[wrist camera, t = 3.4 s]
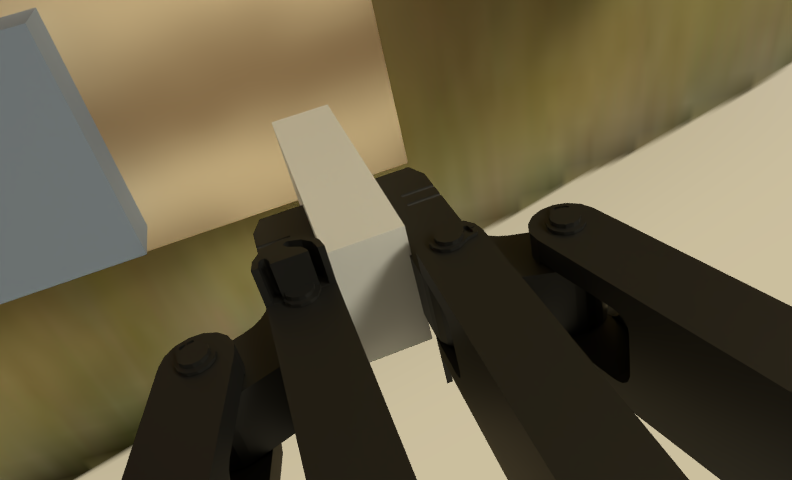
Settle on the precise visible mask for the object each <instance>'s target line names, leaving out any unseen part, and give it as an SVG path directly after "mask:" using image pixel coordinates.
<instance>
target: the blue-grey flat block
mask: <svg viewBox="0 0 792 480" xmlns="http://www.w3.org/2000/svg"><path fill="white" fill-rule="evenodd" d="M146 254H147V224H146V222H145V220H144V218H143V216H142V214H141V213H140V211H139V209H138V207H137V205H136V203H135V201H134V199H133V197H132V195H131V193H130V191H129V189H128V187H127V185H126V183H125V181H124V179H123V177H122V175H121V173H120V171H119V169H118V167H117V165H116V164H115V162H114V160H113V158H112V156H111V154H110V152H109V150H108V148H107V146H106V144H105V142H104V140H103V138H102V136H101V134H100V132H99V130H98V128H97V126H96V124H95V122H94V120H93V118H92V117H91V115H90V113H89V111H88V109H87V107H86V105H85V103H84V101H83V99H82V97H81V95H80V93H79V91H78V89H77V87H76V85H75V83H74V81H73V79H72V77H71V75H70V73H69V71H68V69H67V68H66V66H65V64H64V62H63V60H62V58H61V56H60V54H59V52H58V50H57V48H56V46H55V44H54V42H53V40H52V38H51V36H50V34H49V32H48V30H47V28H46V26H45V24H44V22H43V21H42V19H41V17H40V15H39V13H38V11H37V9H36V8H32V9H29V10H25V11H22V12H18V13H15V14H11V15H8V16H4V17H1V18H0V304H3V303H6V302H9V301H12V300H14V299H17V298H20V297H23V296H26V295H29V294H32V293H35V292H38V291H41V290H44V289H47V288H50V287H53V286H55V285H58V284H61V283H64V282H67V281H70V280H73V279H76V278H79V277H82V276H85V275H88V274H91V273H94V272H96V271H99V270H102V269H105V268H108V267H111V266H114V265H117V264H120V263H123V262H126V261H129V260H132V259H135V258H138V257H140V256H143V255H146Z"/></svg>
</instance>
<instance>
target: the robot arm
mask: <svg viewBox="0 0 792 480" xmlns="http://www.w3.org/2000/svg"><path fill="white" fill-rule="evenodd" d="M271 123H272V126H273V128H274V131H275V134H276V137H277V140H278V143H279V146H280V149H281V152H282V155H283V157H284V160H285V163H286V166H287V169H288V172H289V175H290V178H291V181H292V184H293V187H294V189H295V192H296V195H297V198H298V201H299V204H300V206H298V207H295V208H292V209H289V210H286V211H283V212H281V213H278V214H275V215H272V216H269V217H266V218H263V219H260V220H259V222H258V224H257V227H256V229H255V231H254V234H253V235H254V239H255V244H256V248H257V252H258V255H257V256H256V257H255V259H254V260H253V262H252V266H251V273H252V275H253V277H254V280H255V282H256V284H257V287H258V289H259V292H260V294H261V296H262V299H263V301H264V303H265V306H266V312H265V313H264V315H263V316H262V318H261V319H260V320H259V321H258V322H257V323H256V324H255V325H254V326H253V327H252V328H251V329H249V330H248V331H247V332H245V333H244V334H242V335H240V336H239V337H237V338H236V339H234V340H231V339H230V338H229V337H228V336H227V335H224V334H221V333H217V332H215V333H203V334H200V335H197V336H194V337H191V338H188V339H187V340H185V341H183V342H182V343H180V344H178V345H177V346H175V347H174V348H173V349H172V350H171V351H170V352H169V353H168V354H167V355H166V356H165V357H164V358H163V360H162V362H161V364H160V366H159V367H158V370H157V373H156V376H155V379H154V382H153V385H152V388H151V391H150V395H149V398H148V401H147V404H146V407H145V410H144V413H143V416H142V419H141V422H140V425H139V428H138V431H137V434H136V437H135V440H134V443H133V446H132V449H131V453H130V456H129V459H128V462H127V465H126V468H125V471H124V474H123V477H122V480H280V476H281V466H282V456H283V451H282V444H281V443H282V442H283V441H285V440H286V439H288V438H289V437H290V436H292V435H293V434H296V439H297V443H298V447H299V451H300V455H301V460H302V464H303V469H304V473H305V477H306V480H417V479H416V476H415V474H414V472H413V470H412V467H411V464H410V462H409V459H408V457H407V454H406V452H405V449H404V447H403V444H402V442H401V439H400V437H399V434H398V432H397V430H396V427H395V425H394V422H393V420H392V417H391V415H390V412H389V410H388V407H387V405H386V403H385V400H384V397H383V395H382V392H381V390H380V388H379V385H378V383H377V380H376V378H375V375H374V373H373V370H372V368H371V366H370V363H369V362H372V361H375V360H377V359H380V358H382V357H385V356H388V355H390V354H393V353H396V352H398V351H400V350H404V349H406V348H409V347H412V346H414V345H417V344H419V343H422V342H424V341H427V340H430V339H432V335H431V331H430V327H429V324H430V325H431V327H432V329H433V331H434V333H435V335H436V337H437V341H438V346H439V350H440V354H441V358H442V362H443V367H444V370H445V375H446V379H447V383H449V382H452V381H453V380H452V377H453V379H454V381H455V383H456V385H457V386H458V388H459V390H460V392H461V394H462V396H463V398H464V399H465V401H466V403H467V405H468V407H469V409H470V411H471V412H472V414H473V416H474V418H475V420H476V422H477V423H478V425H479V427H480V429H481V431H482V432H483V435H484V436H485V438H486V440H487V442H488V444H489V446H490V448H491V449H492V451H493V453H494V455H495V457H496V459H497V461H498V462H499V464H500V466H501V468H502V470H503V472H504V474H505V475H506V477H507V479H508V480H689V479H688V478H687V477H686V476H685V474H684V473H683V472H682V471H681V469H680V468H679V467H678V466H677V465H676V463H675V462H674V461H673V460H672V459H671V457H670V456H669V455H668V454H667V453H666V451H665V450H664V449H663V448H662V447H661V445H660V444H659V443H658V442H657V440H656V439H655V438H654V437H653V436H652V434H651V433H650V432H649V431H648V429H647V428H646V427H645V426H644V425H643V423H642V422H641V421H640V420H639V419H638V417H637V416H639V417H640V418H641V419H643V420H644V421H645V422H647V423H648V424H649V425H650V426H652V427H653V428H654V429H656V430H657V431H658V432H659V433H661V434H662V435H663V436H665V437H666V438H667V439H669V440H670V441H671V442H672V443H674V444H675V445H676V446H678V447H679V448H680V449H682V450H683V451H684V452H685V453H687V454H688V455H689V456H691V457H692V458H693V459H695V460H696V461H697V462H698V463H700V464H701V465H702V466H704V467H705V468H706V469H707V470H709V471H710V472H711V473H713V474H714V475H715V476H717V477H718V478H719V479H720V480H792V306H790V305H787V304H785V303H783V302H781V301H779V300H777V299H775V298H773V297H771V296H769V295H767V294H765V293H763V292H761V291H759V290H757V289H755V288H753V287H751V286H749V285H747V284H745V283H743V282H741V281H739V280H737V279H735V278H733V277H731V276H729V275H727V274H725V273H723V272H721V271H719V270H717V269H715V268H713V267H711V266H709V265H707V264H705V263H703V262H701V261H699V260H697V259H695V258H693V257H691V256H689V255H687V254H685V253H683V252H681V251H679V250H677V249H675V248H673V247H671V246H668V245H667V244H665V243H663V242H661V241H659V240H657V239H654V238H653V237H651V236H649V235H647V234H645V233H643V232H641V231H639V230H637V229H635V228H632V227H630V226H629V225H627V224H625V223H622V222H621V221H619V220H617V219H614V218H612V217H610V216H608V215H606V214H604V213H602V212H600V211H598V210H596V209H594V208H592V207H589V206H585V205H583V204H573V203H564V204H557V205H552V206H550V207H547V208H544V209H542V210H540V211H539V212H537V213H536V214H535V215H534V216H532V218H531V220H530V222H529V224H528V228H529V233H523V234H516V235H509V236H488V235H487V234H486V233H485V232H484V230H483V229H482V228H480V227H479V226H477V225H476V224H474V223H470V222H466V221H461V219H460V218H459V217H458V216H457V214H456V213H455V212H454V211H453V209H452V208H451V207H450V206H449V204H448V203H447V202H446V201H445V199H444V198H443V197H442V196H441V195H440V193H439V192H438V191H437V189H436V188H435V187H433V184H432V183H431V182H430V180H429V179H428V178H427V177H426V175H425V174H424V173H421V172H419V171H416V170H414V169H411V168H409V167H408V168H405V169H402V170H399V171H396V172H393V173H390V174H387V175H384V176H381V177H378V178H374V177H373V175H372V174H371V172H370V170H369V169H368V167H367V166H366V164H365V162H364V161H363V159H362V158H361V156H360V155H359V153H358V151H357V150H356V148H355V147H354V145H353V144H352V142H351V140H350V139H349V137H348V136H347V134H346V133H345V131H344V129H343V128H342V126H341V125H340V123H339V122H338V120H337V118H336V117H335V115H334V114H333V112H332V111H331V109H330V107H329V106H328V104H327V105H324V106H321V107H318V108H314V109H311V110H308V111H305V112H302V113H299V114H296V115H293V116H290V117H286V118H283V119H280V120H277V121H274V122H271ZM428 322H429V323H428ZM634 413H635V414H636V415H637V416H636V415H635V414H634Z"/></svg>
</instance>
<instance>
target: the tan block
mask: <svg viewBox="0 0 792 480" xmlns="http://www.w3.org/2000/svg"><path fill="white" fill-rule="evenodd" d="M32 8H36V9H37V11H38V13H39V15H40V17H41V19H42V21H43V22H44V24H45V26H46V28H47V30H48V32H49V34H50V36H51V38H52V40H53V42H54V44H55V46H56V48H57V50H58V52H59V54H60V56H61V58H62V60H63V62H64V64H65V66H66V68H67V69H68V71H69V73H70V75H71V77H72V79H73V81H74V83H75V85H76V87H77V89H78V91H79V93H80V95H81V97H82V99H83V101H84V103H85V105H86V107H87V109H88V111H89V113H90V115H91V117H92V118H93V120H94V122H95V124H96V126H97V128H98V130H99V132H100V134H101V136H102V138H103V140H104V142H105V144H106V146H107V148H108V150H109V152H110V154H111V156H112V158H113V160H114V162H115V164H116V165H117V167H118V169H119V171H120V173H121V175H122V177H123V179H124V181H125V183H126V185H127V187H128V189H129V191H130V193H131V195H132V197H133V199H134V201H135V203H136V205H137V207H138V209H139V211H140V213H141V214H142V216H143V218H144V220H145V222H146V224H147V251H150V250H153V249H156V248H159V247H162V246H165V245H168V244H171V243H174V242H177V241H180V240H183V239H186V238H189V237H191V236H194V235H197V234H200V233H203V232H206V231H209V230H212V229H215V228H218V227H221V226H224V225H227V224H230V223H233V222H235V221H238V220H241V219H244V218H247V217H250V216H253V215H256V214H259V213H262V212H265V211H268V210H271V209H274V208H277V207H279V206H282V205H285V204H288V203H291V202H294V201H297V200H298V198H297V195H296V192H295V189H294V187H293V184H292V181H291V178H290V175H289V172H288V169H287V166H286V163H285V160H284V157H283V155H282V152H281V149H280V146H279V143H278V140H277V137H276V134H275V131H274V128H273V126H272V123H271V122H274V121H277V120H280V119H283V118H286V117H290V116H293V115H296V114H299V113H302V112H305V111H308V110H311V109H314V108H318V107H321V106H324V105H327V104H328V106H329V107H330V109H331V111H332V112H333V114H334V115H335V117H336V118H337V120H338V122H339V123H340V125H341V126H342V128H343V129H344V131H345V133H346V134H347V136H348V137H349V139H350V140H351V142H352V144H353V145H354V147H355V148H356V150H357V151H358V153H359V155H360V156H361V158H362V159H363V161H364V162H365V164H366V166H367V167H368V169H369V170H370V172H371V174H372V175H373V174H376V173H379V172H382V171H385V170H388V169H391V168H394V167H397V166H400V165H403V164H406V163H408V161H407V157H406V152H405V148H404V143H403V139H402V134H401V130H400V126H399V121H398V117H397V112H396V108H395V103H394V99H393V94H392V90H391V85H390V81H389V76H388V72H387V68H386V63H385V59H384V54H383V50H382V45H381V41H380V36H379V32H378V27H377V23H376V19H375V14H374V10H373V5H372V1H371V0H0V18H1V17H4V16H8V15H11V14H15V13H18V12H22V11H25V10H29V9H32Z"/></svg>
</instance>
